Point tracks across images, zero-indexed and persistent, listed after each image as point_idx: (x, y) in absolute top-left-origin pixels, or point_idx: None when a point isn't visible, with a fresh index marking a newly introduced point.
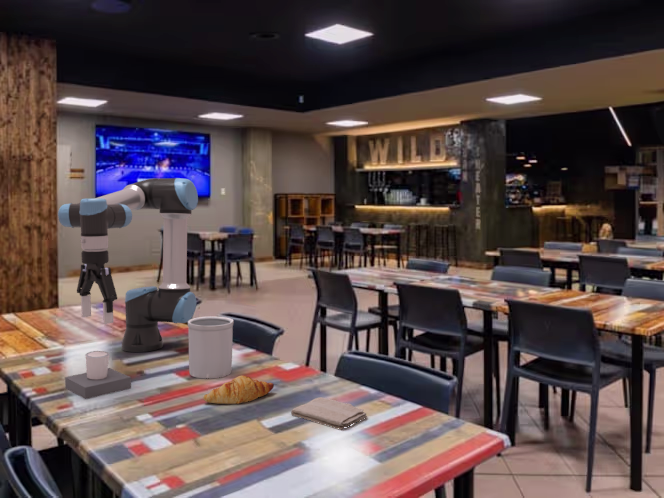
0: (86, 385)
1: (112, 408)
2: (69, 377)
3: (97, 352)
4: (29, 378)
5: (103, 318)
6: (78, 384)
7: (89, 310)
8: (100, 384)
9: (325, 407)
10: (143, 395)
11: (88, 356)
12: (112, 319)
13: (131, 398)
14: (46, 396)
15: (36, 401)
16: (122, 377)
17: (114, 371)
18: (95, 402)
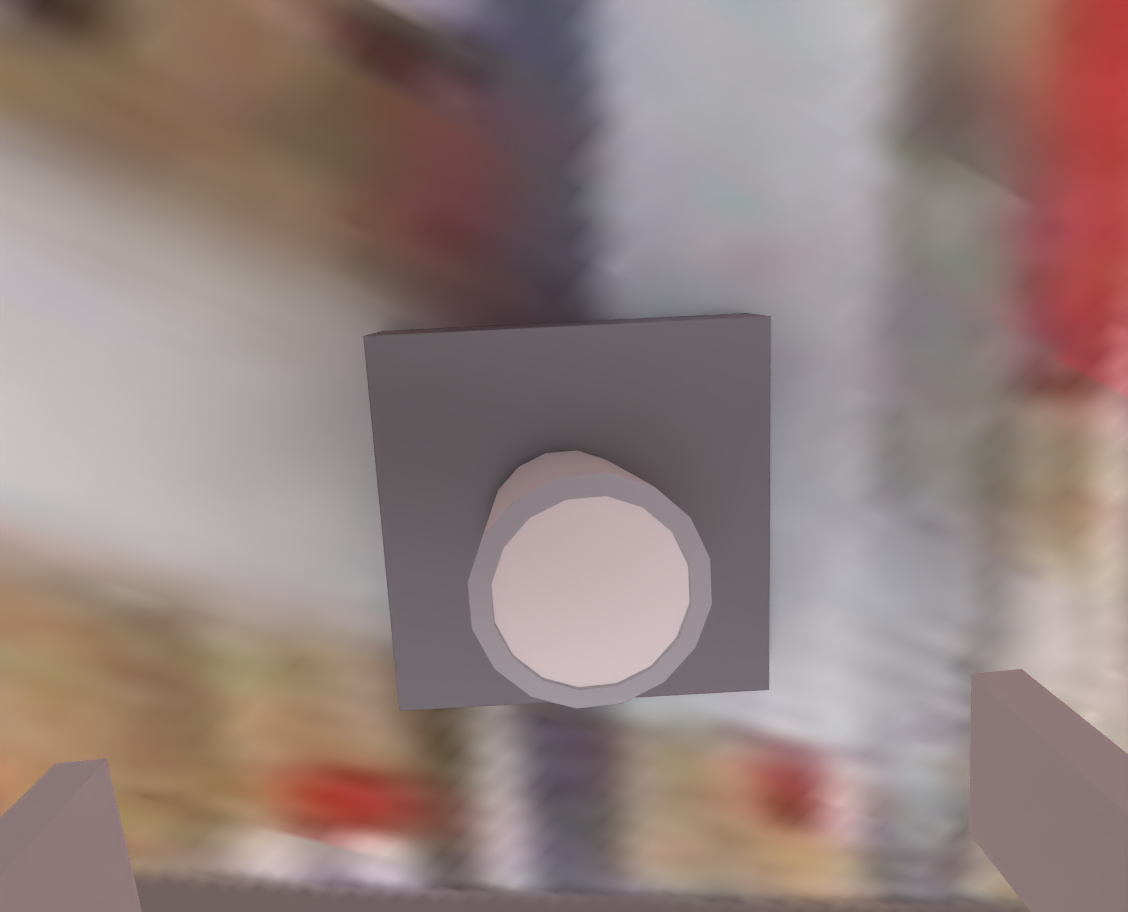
0: (725, 664)
1: (1047, 591)
2: (429, 688)
3: (526, 570)
4: (4, 782)
5: (1029, 907)
6: (649, 694)
7: (37, 879)
8: (768, 575)
9: None
10: (969, 320)
11: (617, 694)
12: (1059, 719)
13: (963, 415)
14: (514, 813)
15: (572, 882)
16: (728, 374)
17: (509, 351)
18: (858, 627)
